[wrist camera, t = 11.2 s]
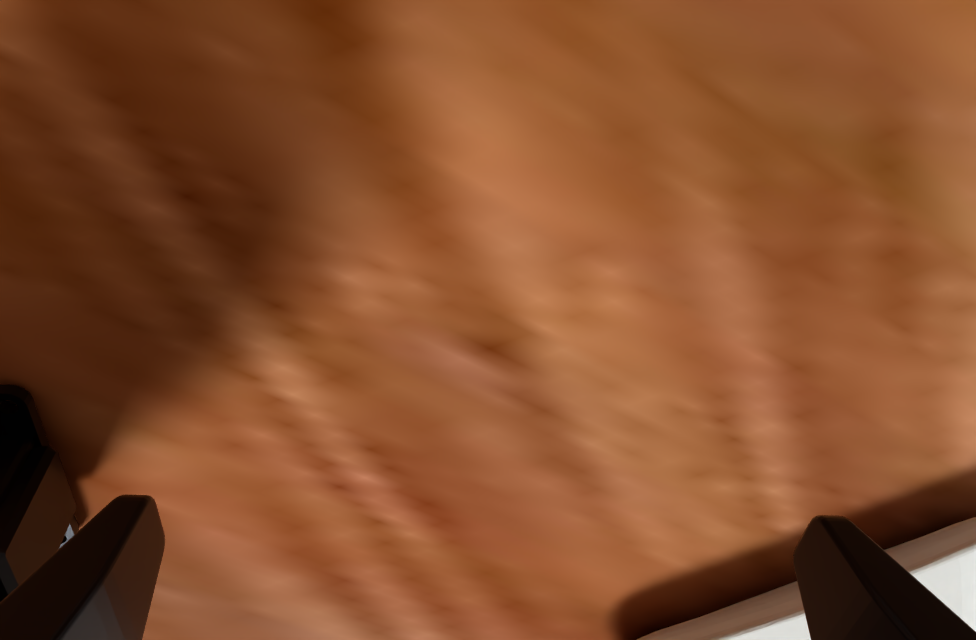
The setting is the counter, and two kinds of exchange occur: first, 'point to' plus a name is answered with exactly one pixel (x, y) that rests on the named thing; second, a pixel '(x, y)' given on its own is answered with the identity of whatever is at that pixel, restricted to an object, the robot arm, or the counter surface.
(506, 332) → the counter surface
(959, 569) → the salad plate
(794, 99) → the counter surface
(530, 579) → the counter surface
